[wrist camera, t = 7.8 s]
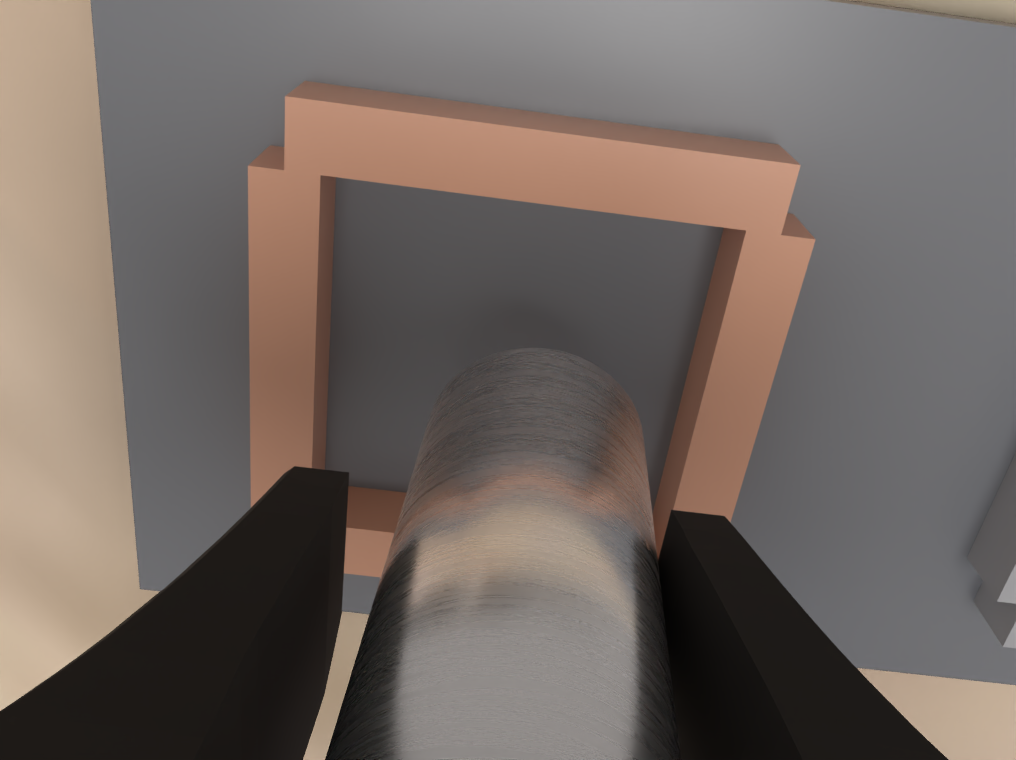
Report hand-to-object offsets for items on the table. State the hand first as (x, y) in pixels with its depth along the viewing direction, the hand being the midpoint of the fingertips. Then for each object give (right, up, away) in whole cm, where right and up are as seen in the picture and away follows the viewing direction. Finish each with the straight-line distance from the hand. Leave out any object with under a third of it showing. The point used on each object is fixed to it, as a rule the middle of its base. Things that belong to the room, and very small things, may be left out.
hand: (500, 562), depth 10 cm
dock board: (+7, +2, +6) cm, 9 cm away
